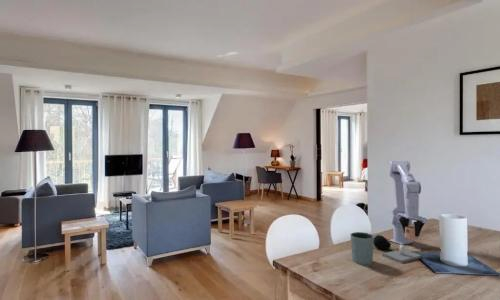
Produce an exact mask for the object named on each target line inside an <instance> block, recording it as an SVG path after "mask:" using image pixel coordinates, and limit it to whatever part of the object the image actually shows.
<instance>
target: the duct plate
mask: <svg viewBox="0 0 500 300" xmlns="http://www.w3.org/2000/svg"><path fill="white" fill-rule="evenodd" d="M382 257H384V258H387V259H390V260H392V261H395V262H398V263H400V264H404V263H408V262H411V261H415V260H419V259H421V258H422V255H421V254H418V253H416V252H413V251H410V250H407V249H405V244H403V245H401V244H399V248H398V250H395V251H392V250H390V251H388V252H383V253H382ZM420 257H421V258H420Z"/></svg>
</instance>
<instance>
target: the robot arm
mask: <svg viewBox="0 0 500 300" xmlns="http://www.w3.org/2000/svg"><path fill="white" fill-rule="evenodd" d="M410 170H411V164H410V161H408V160H404V161H403V160H390V161H389V162H388V173H389V177H391V178H392V180H393V187H394V188H393V192H394V201H395V207H394V208H393V209H391V210H390V216H389V219H390V223H391V225H393V229H392V230H393V232H392V233H393V238H391V239H389V242H392V243H397V244H399V245H407V244H412V243H414V240H413V239H409V238H406V237H405V226H411V225H412V223H413V227H415V236H416V237H418V238H419V237H420V234H421V232H422V228H424V225H426V224H428V218H426V217H423V216H420V215H419V213H420V212H419V207H420V206H419V202H420V194H421V192H422V185H421V183H420V181H416V179H415V177H414V175H413V174H412V173H411V172H410Z"/></svg>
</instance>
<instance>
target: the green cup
mask: <svg viewBox="0 0 500 300" xmlns="http://www.w3.org/2000/svg"><path fill="white" fill-rule="evenodd" d="M349 235H350V244H351V247H350V248H351V257H352V259H351V260H352V262H353V263H355V264H358V265H362V266H368V265H372V264H373V255H374V238H375V236H374V235H373V234H372V233H368V232H362V231H361V232H359V231H358V232H352V233H350V234H349Z"/></svg>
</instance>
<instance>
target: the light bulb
mask: <svg viewBox="0 0 500 300" xmlns="http://www.w3.org/2000/svg"><path fill="white" fill-rule="evenodd" d="M373 247H375V248H377V249H379V250H390V251H395V250H399V248H398V246H396V245H394V244H393V243H391V242H390V240H388V239H387V238H386V236H385V237H384V236H383V235H380V234H378V235H375V236H374V244H373Z"/></svg>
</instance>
